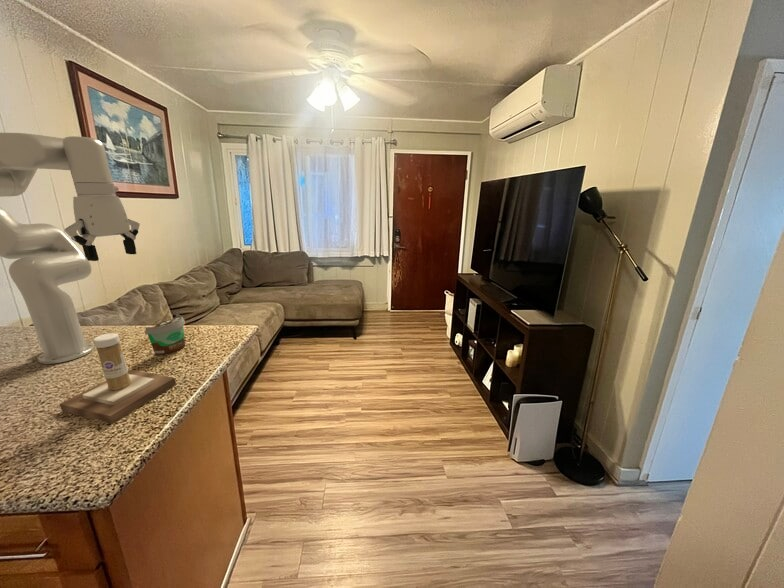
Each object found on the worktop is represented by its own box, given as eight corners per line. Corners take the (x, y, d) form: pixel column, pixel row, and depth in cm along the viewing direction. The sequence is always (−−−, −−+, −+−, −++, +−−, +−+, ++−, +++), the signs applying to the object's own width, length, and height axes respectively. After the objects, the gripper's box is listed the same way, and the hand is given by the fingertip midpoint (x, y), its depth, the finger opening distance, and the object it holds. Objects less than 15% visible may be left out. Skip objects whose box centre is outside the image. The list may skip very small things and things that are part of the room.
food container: (167, 359, 99) (160, 329, 96) (151, 357, 101) (143, 327, 98) (198, 342, 111) (192, 314, 108) (183, 340, 112) (177, 313, 109)
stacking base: (62, 411, 76) (58, 400, 75) (131, 375, 91) (128, 366, 90) (112, 423, 72) (108, 412, 71) (176, 384, 86) (173, 374, 86)
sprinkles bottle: (106, 393, 78) (90, 342, 74) (110, 384, 81) (95, 335, 77) (130, 387, 80) (116, 337, 76) (133, 378, 84) (119, 330, 79)
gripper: (120, 191, 91) (134, 251, 96) (43, 190, 75) (65, 262, 81) (140, 190, 89) (154, 252, 94) (65, 190, 73) (87, 264, 79)
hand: (113, 257), depth 88 cm, fingers open, 9 cm apart
